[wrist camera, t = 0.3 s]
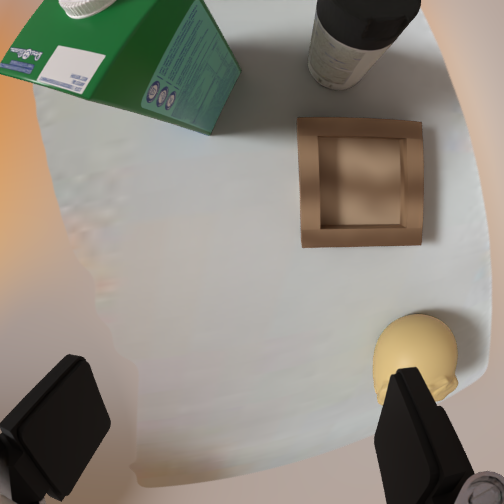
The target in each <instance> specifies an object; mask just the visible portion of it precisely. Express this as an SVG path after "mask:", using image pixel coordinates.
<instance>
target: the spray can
mask: <svg viewBox="0 0 504 504" xmlns="http://www.w3.org/2000/svg"><path fill="white" fill-rule="evenodd" d="M420 6H421V0H317V6H316V13H315V20H314V25H313V31H312V37H311V43H310V49H309V55H308V67H309V70H310V73H311V75H312V76H313V77H314V79H315V80H316V81H317V82H318V83H320V84H321V85H322V86H325V87H327V88H330V89H335V90H345V89H348V88H350V87H352V86H354V85H355V84H357V83H358V82H359V81H360V79H361V78H362V77H363V76H364V75H365V74H366V73H367V71H368V70H369V69H370V68H371V67H372V66H373V65H374V64H375V62H376V61H377V60H378V59H379V58H380V57H381V56H382V55H383V54H384V52H385V51H386V50H387V49H388V48H389V47H390V46H391V45H392V44H393V42H394V41H395V40H396V39H397V38H398V36H399V35H400V34H401V33H402V32H403V30H404V29H405V28H406V27H407V26H408V24H409V23H410V22H411V21H412V20H413V19H414V18H415V17H416V15H417V13H418V12H419V9H420Z"/></svg>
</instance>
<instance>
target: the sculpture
mask: <svg viewBox="0 0 504 504" xmlns="http://www.w3.org/2000/svg"><path fill="white" fill-rule="evenodd" d="M457 357H458V351H457V344H456V340H455V338H454V335H453V333H452V332H451V330H450V329H449V327H448V326H447V325H446V324H444V323H443V322H442V321H440V320H439V319H437V318H435V317H432V316H429V315H424V314H412V315H407V316H404V317H401V318H399V319H397V320H395V321H394V322H392V323H391V324H390V325H389V326H387V328H386V329H385V330H384V331H383V332H382V334H381V335H380V337H379V339H378V341H377V344H376V347H375V350H374V356H373V379H374V388H375V392H376V394H377V399H378V403H379V404H381V405H383V404H384V400H385V396H386V392H387V388H388V383H389V379H390V376H391V375H392V374H396V371H397V369H400V368H409V367H417V368H418V369H419V371H420V373H421V375H422V377H423V379H424V381H425V383H426V385H427V387H428V389H429V390H430V392H431V394H432V396H433V398H434V400H435V402H436V401H440V400H443V399H444V398H445V397H446V396H447V395H448V394H449V393H451V392H452V391H454V390H455V389H456V387H457V386H458V380H457V378H456V376H455V369H456V365H457Z"/></svg>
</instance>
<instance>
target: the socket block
mask: <svg viewBox="0 0 504 504" xmlns="http://www.w3.org/2000/svg"><path fill="white" fill-rule="evenodd" d="M296 123H297V141H298V162H299V186H300V219H301V244H302V248H320V247H365V246H412V245H421V243H422V227H423V200H424V163H423V136H422V122H417V121H405V120H392V119H375V118H348V117H297V121H296Z"/></svg>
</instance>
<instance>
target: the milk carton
mask: <svg viewBox="0 0 504 504" xmlns="http://www.w3.org/2000/svg"><path fill="white" fill-rule="evenodd" d="M241 71H242V70H241V68H240V66H239V64H238V62H237V61H236V59H235V57H234V55H233V53H232V51H231V49H230V47H229V45H228V44H227V42H226V40H225V38H224V36H223V34H222V32H221V31H220V29H219V27H218V25H217V23H216V22H215V20H214V18H213V16H212V14H211V13H210V11H209V9H208V7H207V6H206V4H205V2H204V0H44V1H43V2H42V4H41V5H40V6H39V8H38V9H37V10H36V11H35V13H34V14H33V15H32V17H31V18H30V19H29V21H28V22H27V24H26V25H25V26H24V28H23V29H22V31H21V32H20V34H19V35H18V36H17V38H16V39H15V41H14V42H13V44H12V45H11V47H10V48H9V50H8V51H7V53H6V55H5V56H4V58H3V60H2V61H1V63H0V74H1V75H5V76H9V77H13V78H16V79H20V80H24V81H27V82H31V83H34V84H37V85H41V86H44V87H47V88H51V89H54V90H57V91H60V92H63V93H67V94H70V95H73V96H76V97H79V98H82V99H85V100H88V101H92V102H96V103H100V104H104V105H108V106H112V107H115V108H119V109H123V110H127V111H130V112H134V113H137V114H141V115H144V116H148V117H151V118H155V119H158V120H161V121H164V122H168V123H171V124H174V125H177V126H180V127H184V128H187V129H190V130H193V131H196V132H199V133H202V134H205V135H208V136H210V134H211V132H212V130H213V128H214V125H215V123H216V121H217V119H218V117H219V115H220V113H221V111H222V109H223V107H224V105H225V102H226V100H227V98H228V96H229V94H230V92H231V90H232V88H233V86H234V84H235V82H236V80H237V78H238V77H239V75H240V73H241Z"/></svg>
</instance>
